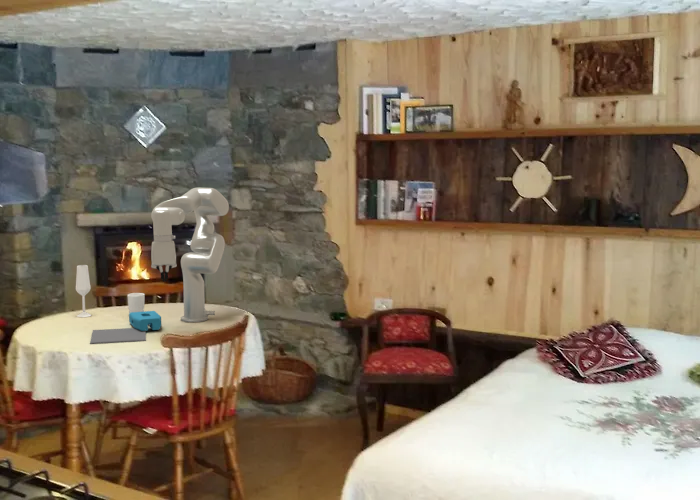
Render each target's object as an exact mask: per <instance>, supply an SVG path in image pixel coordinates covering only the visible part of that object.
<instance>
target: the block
mask: <svg viewBox="0 0 700 500" xmlns="http://www.w3.org/2000/svg"><path fill="white" fill-rule="evenodd" d="M128 323H129V324H130V325H131V326H132V328H135V329H138V330H141V331H145V332H146V331H147V332H148V331H149V328H150V329H151V330H152V331H157V330H160V329H161V327H162V316H161V315H160V314H159V313H158V312H157V311H155V310H148V311H145V310H144V312H131V313H129V312H128ZM148 325H149V326H148Z"/></svg>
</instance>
